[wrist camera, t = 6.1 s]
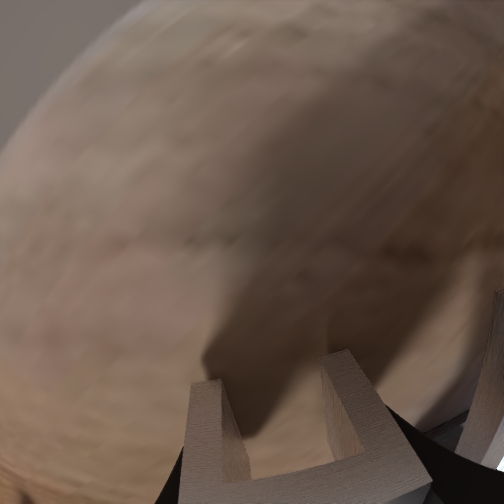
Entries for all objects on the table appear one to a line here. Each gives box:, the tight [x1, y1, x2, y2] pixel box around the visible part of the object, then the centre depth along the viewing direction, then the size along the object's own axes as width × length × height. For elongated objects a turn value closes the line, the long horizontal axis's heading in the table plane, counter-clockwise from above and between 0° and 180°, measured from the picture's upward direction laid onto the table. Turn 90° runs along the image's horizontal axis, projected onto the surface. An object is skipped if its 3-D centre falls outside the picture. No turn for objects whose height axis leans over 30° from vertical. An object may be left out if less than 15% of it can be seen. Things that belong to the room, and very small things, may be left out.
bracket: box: [178, 349, 433, 504], centre depth 7 cm, size 5×4×6 cm
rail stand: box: [424, 287, 504, 470], centre depth 9 cm, size 6×16×6 cm, turn 11°
